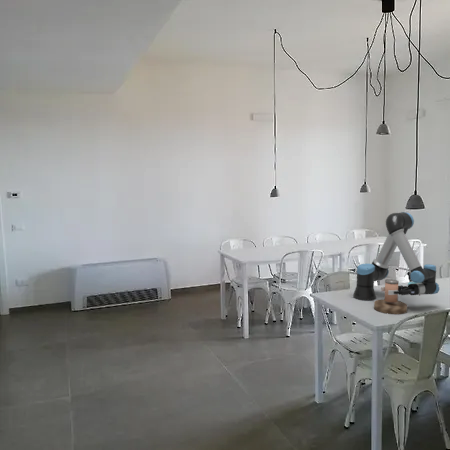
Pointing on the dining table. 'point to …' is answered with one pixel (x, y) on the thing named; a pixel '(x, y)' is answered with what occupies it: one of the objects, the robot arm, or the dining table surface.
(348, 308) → the dining table surface
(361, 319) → the dining table surface
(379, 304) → the walnut pedestal
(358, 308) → the dining table surface
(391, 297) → the terracotta jar
